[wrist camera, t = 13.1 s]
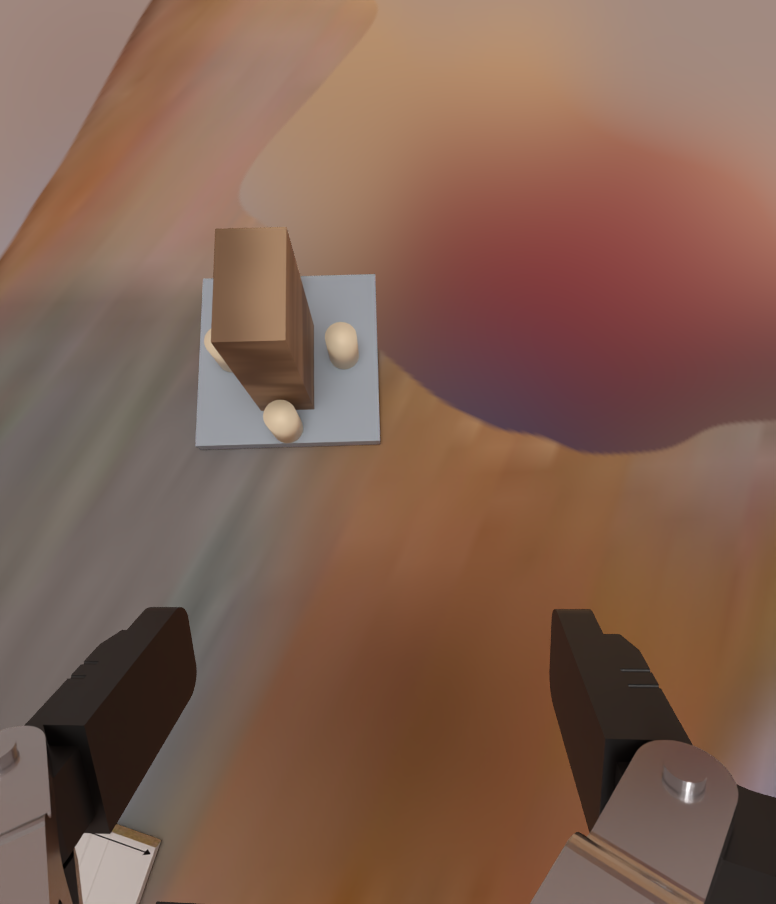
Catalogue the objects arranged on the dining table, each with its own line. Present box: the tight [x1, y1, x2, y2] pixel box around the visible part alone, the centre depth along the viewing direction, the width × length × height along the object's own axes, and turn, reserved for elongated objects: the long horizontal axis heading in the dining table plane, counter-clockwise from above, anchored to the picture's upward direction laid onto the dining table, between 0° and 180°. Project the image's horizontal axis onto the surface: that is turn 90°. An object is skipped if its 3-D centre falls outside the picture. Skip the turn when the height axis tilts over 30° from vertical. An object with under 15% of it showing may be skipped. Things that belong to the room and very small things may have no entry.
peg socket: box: [196, 262, 380, 450], centre depth 37 cm, size 12×12×4 cm
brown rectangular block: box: [211, 227, 314, 411], centre depth 32 cm, size 4×6×11 cm, turn 2°
